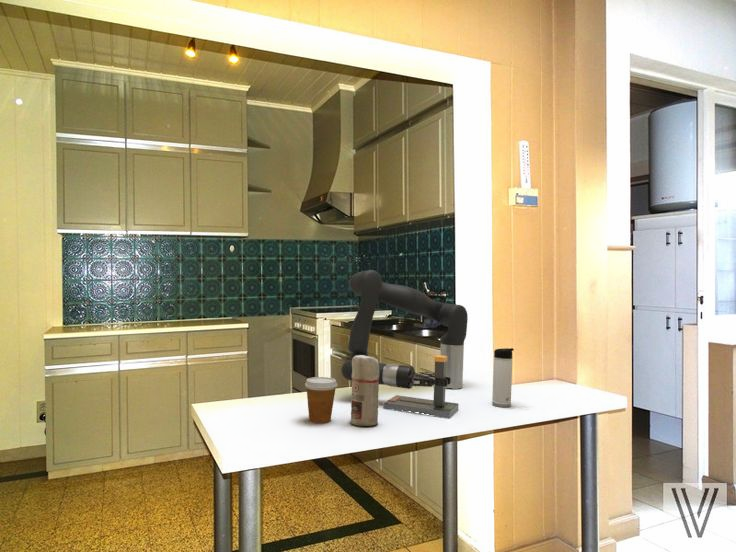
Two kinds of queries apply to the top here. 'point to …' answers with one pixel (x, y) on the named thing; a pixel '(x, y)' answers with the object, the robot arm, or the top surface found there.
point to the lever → (441, 374)
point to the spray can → (364, 391)
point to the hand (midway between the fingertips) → (448, 382)
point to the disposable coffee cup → (320, 398)
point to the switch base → (421, 406)
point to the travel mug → (502, 377)
